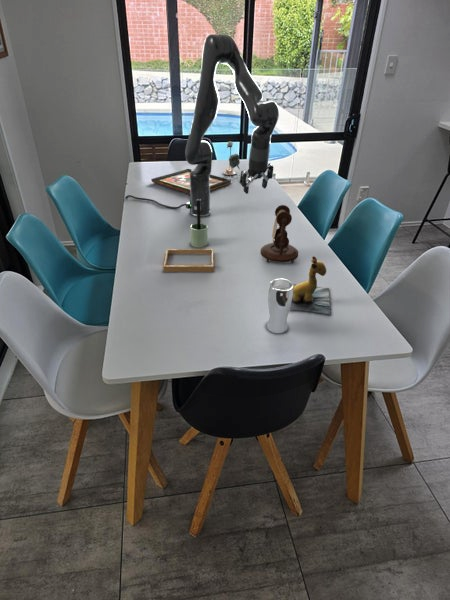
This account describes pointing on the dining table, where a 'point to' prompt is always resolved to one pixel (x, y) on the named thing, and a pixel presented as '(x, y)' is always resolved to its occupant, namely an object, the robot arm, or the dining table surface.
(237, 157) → the plant with pod
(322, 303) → the stuffed giraffe
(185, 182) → the religious icon
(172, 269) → the oak tray
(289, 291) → the beer glass
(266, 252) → the scroll
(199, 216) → the black rectangular stick
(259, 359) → the dining table surface
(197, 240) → the pen cup
